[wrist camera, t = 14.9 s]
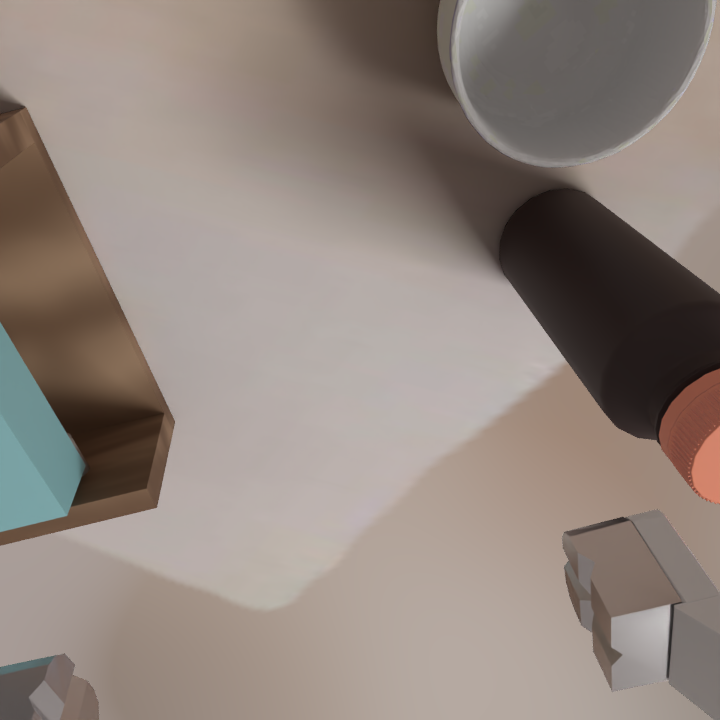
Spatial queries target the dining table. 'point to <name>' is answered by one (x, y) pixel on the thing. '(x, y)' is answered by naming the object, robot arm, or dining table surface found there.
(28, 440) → the shelf board
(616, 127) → the teacup
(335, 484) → the dining table surface
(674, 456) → the bottle
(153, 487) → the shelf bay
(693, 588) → the robot arm
